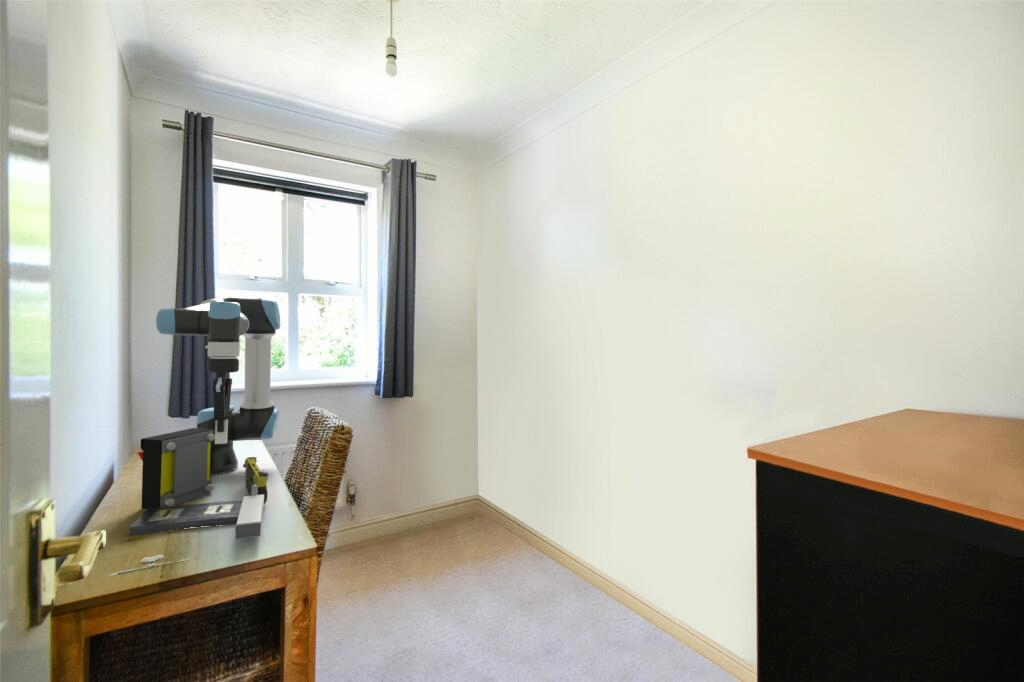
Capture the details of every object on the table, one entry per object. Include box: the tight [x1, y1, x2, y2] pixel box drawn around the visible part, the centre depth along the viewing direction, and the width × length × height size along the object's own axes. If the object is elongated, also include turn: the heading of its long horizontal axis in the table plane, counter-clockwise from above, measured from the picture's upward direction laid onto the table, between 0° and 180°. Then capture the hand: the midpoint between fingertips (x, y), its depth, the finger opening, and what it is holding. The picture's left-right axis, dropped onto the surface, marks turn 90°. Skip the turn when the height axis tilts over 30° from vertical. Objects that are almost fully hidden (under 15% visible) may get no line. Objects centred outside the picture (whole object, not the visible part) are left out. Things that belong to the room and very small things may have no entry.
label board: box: [128, 484, 258, 536], centre depth 128 cm, size 14×27×8 cm, turn 112°
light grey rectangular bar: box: [234, 494, 265, 540], centre depth 121 cm, size 22×5×3 cm, turn 26°
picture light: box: [108, 554, 185, 577], centre depth 102 cm, size 14×4×2 cm, turn 125°
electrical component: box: [137, 427, 215, 510], centre depth 142 cm, size 18×10×20 cm, turn 168°
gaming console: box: [242, 456, 269, 505], centre depth 147 cm, size 26×4×10 cm, turn 36°
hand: (221, 443), depth 130 cm, fingers closed
